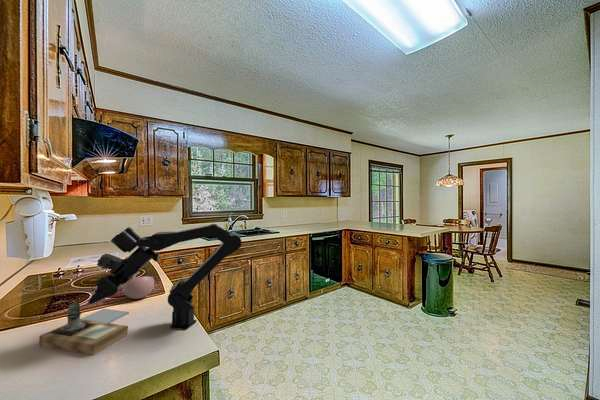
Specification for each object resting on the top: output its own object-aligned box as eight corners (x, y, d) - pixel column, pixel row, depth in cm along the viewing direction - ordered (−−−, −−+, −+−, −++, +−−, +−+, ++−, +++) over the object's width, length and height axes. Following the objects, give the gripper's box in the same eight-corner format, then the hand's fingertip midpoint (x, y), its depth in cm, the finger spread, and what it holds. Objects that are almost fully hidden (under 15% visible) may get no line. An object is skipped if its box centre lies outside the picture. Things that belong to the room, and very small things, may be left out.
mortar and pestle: (151, 291, 126) (151, 267, 126) (156, 299, 116) (156, 273, 116) (121, 296, 118) (121, 271, 118) (123, 305, 109) (124, 278, 109)
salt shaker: (71, 344, 80) (71, 304, 80) (55, 341, 81) (56, 302, 81) (90, 334, 86) (90, 297, 86) (75, 332, 87) (76, 296, 87)
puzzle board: (127, 334, 86) (127, 324, 86) (93, 355, 75) (93, 343, 75) (78, 327, 90) (78, 318, 90) (39, 345, 79) (39, 334, 79)
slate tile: (129, 313, 102) (129, 311, 102) (99, 328, 90) (99, 326, 90) (103, 310, 104) (103, 308, 104) (71, 324, 92) (71, 322, 92)
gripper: (125, 241, 96) (88, 273, 92) (105, 251, 78) (58, 291, 75) (149, 261, 98) (113, 293, 95) (134, 275, 81) (90, 315, 77)
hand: (95, 297), depth 85 cm, fingers open, 9 cm apart
